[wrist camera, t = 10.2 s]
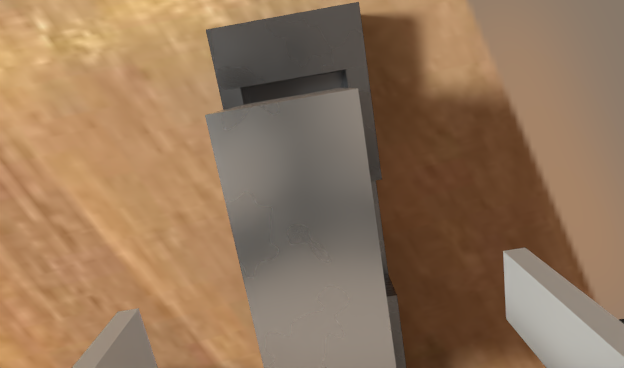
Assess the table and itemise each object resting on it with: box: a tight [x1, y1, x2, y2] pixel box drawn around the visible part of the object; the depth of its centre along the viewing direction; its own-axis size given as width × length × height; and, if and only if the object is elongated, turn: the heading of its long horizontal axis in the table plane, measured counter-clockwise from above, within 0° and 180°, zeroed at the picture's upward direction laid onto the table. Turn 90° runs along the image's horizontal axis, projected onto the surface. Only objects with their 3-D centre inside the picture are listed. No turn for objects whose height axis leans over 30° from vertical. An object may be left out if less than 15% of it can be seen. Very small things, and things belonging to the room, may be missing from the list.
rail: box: [206, 2, 406, 368], centre depth 22 cm, size 23×7×3 cm, turn 10°
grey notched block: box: [205, 88, 396, 368], centre depth 17 cm, size 16×4×11 cm, turn 10°
